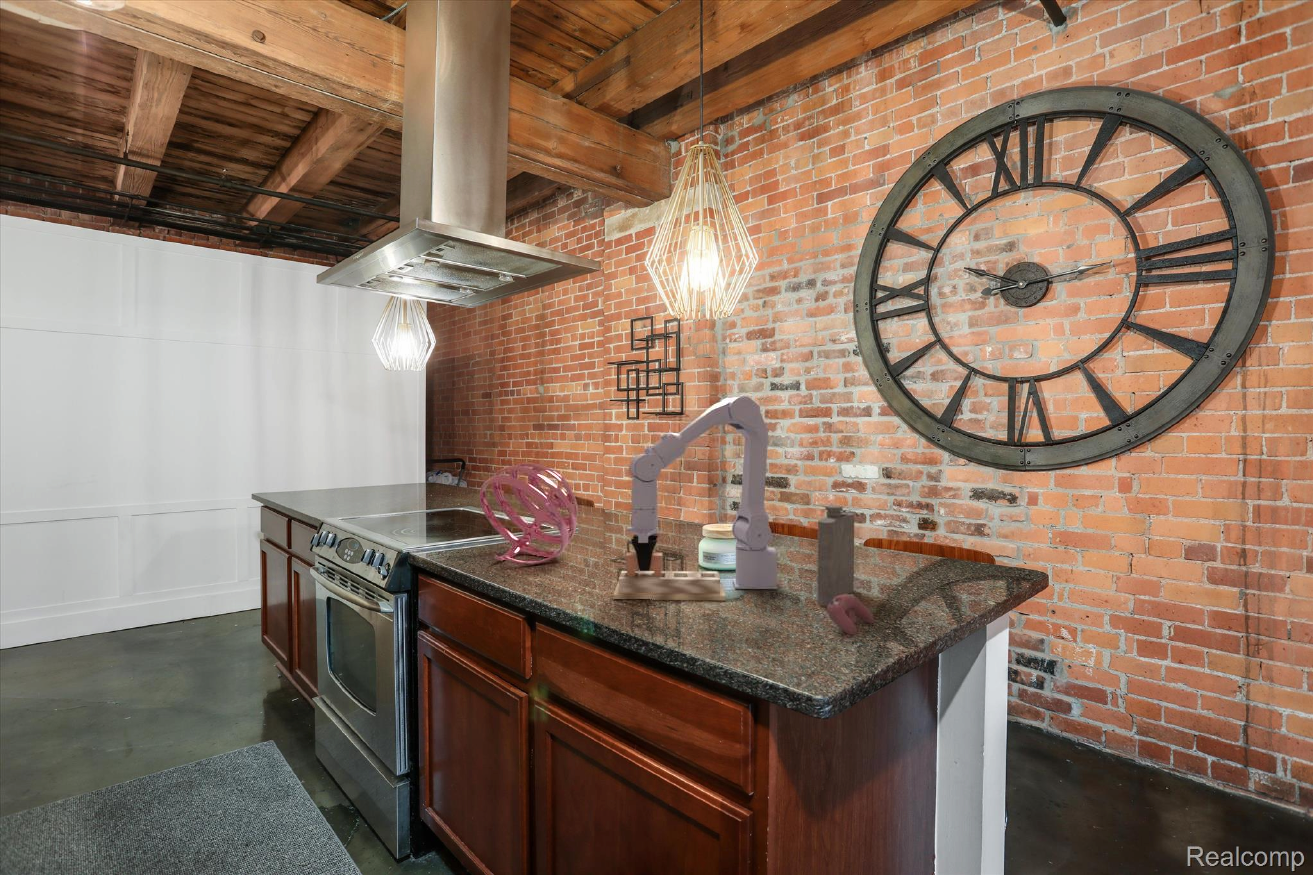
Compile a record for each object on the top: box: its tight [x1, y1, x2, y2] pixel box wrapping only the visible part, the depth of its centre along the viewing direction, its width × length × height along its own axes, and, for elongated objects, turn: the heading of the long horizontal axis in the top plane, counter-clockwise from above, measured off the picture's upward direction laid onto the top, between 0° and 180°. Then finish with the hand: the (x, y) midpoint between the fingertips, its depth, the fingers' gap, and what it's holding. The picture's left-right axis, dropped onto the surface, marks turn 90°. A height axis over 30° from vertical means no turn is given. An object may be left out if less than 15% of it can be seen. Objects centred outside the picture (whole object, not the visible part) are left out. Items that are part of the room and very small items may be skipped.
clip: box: [625, 552, 663, 577], centre depth 142 cm, size 8×3×7 cm, turn 88°
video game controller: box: [826, 593, 875, 636], centre depth 120 cm, size 10×5×7 cm, turn 141°
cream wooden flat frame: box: [613, 570, 726, 601], centre depth 142 cm, size 24×11×4 cm, turn 88°
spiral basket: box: [479, 462, 579, 566], centre depth 174 cm, size 28×28×27 cm
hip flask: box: [816, 504, 855, 607], centre depth 139 cm, size 16×4×20 cm, turn 144°
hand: (644, 568), depth 142 cm, fingers closed on clip, 3 cm apart
